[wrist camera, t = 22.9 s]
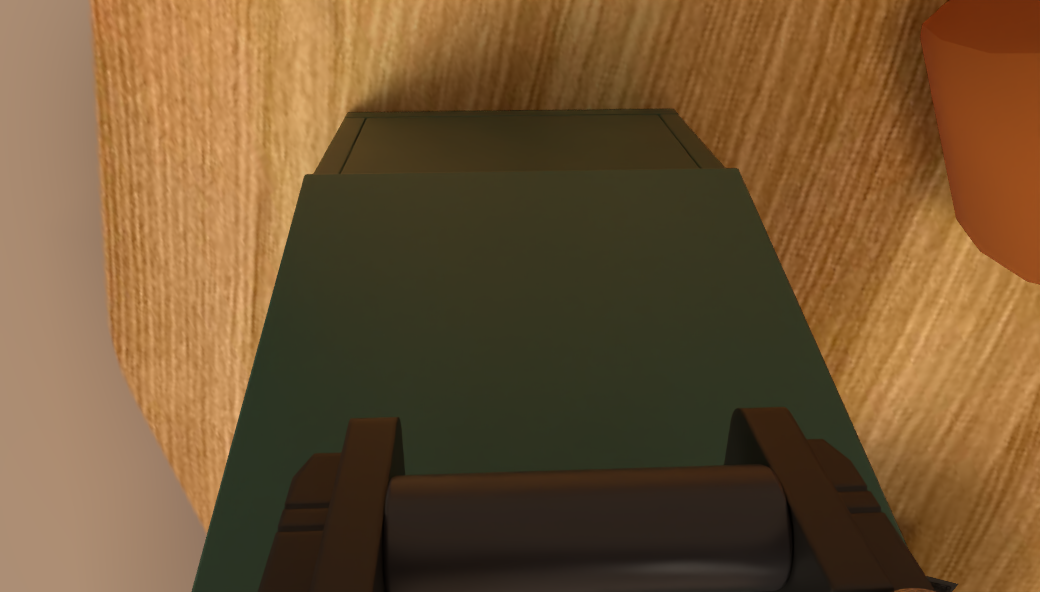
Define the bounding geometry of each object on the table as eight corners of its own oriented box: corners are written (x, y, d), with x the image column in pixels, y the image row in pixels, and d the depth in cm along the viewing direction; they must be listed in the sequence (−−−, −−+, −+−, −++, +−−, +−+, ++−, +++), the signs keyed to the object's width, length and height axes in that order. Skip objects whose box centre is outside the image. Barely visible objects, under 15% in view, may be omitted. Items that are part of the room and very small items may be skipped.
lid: (1004, 829, 12) (1218, 685, 8) (134, 875, 11) (-34, 741, 8) (733, 189, 24) (773, 20, 20) (308, 195, 23) (274, 24, 20)
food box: (644, 432, 38) (681, 554, 31) (379, 440, 37) (358, 566, 31) (674, 108, 31) (731, 173, 24) (347, 111, 30) (309, 179, 23)
